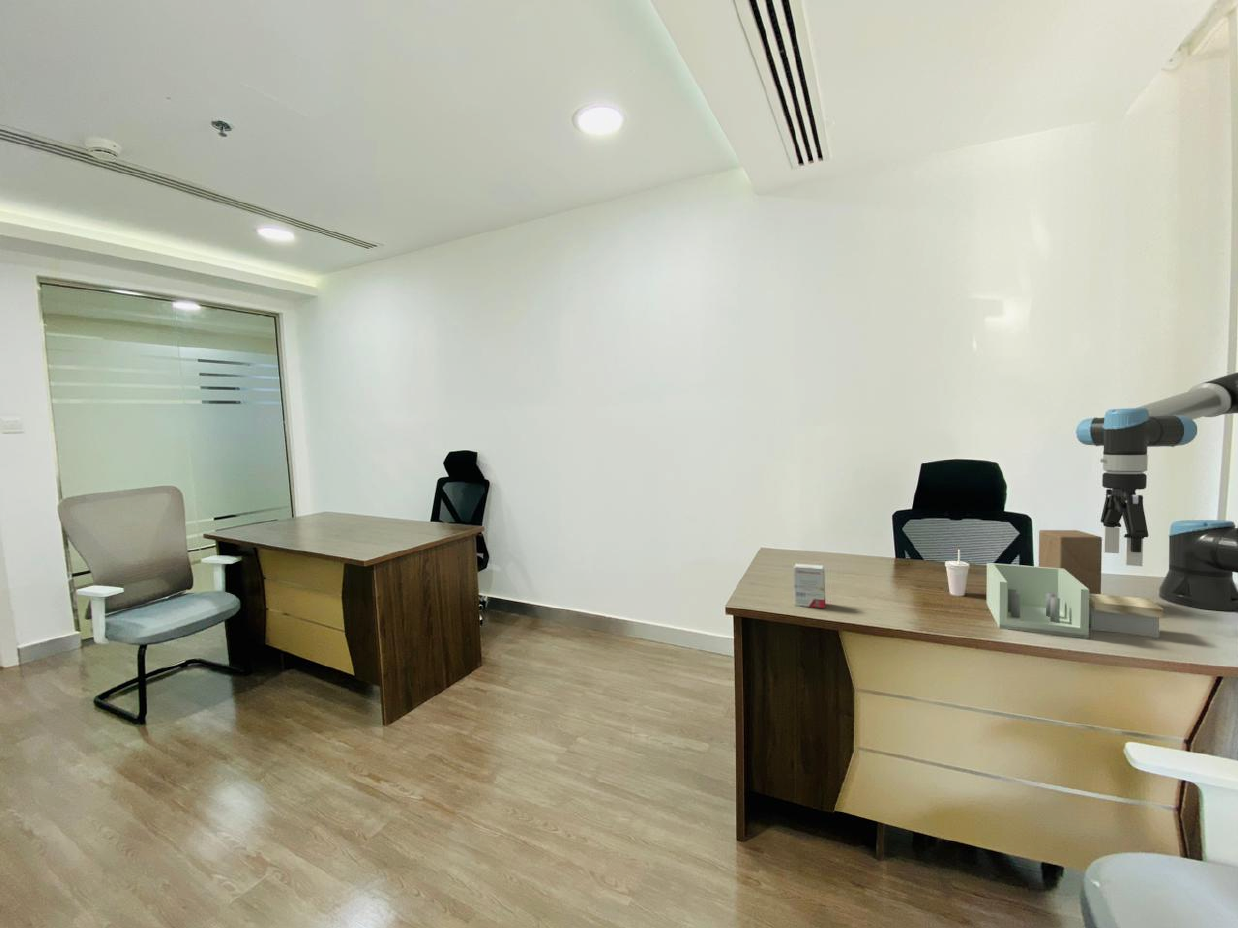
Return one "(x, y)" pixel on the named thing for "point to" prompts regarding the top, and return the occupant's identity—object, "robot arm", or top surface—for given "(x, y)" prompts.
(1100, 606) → the shelf board
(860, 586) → the top surface
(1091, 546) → the wooden block
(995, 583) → the light green open box
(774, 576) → the top surface
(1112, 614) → the block
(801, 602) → the ink box
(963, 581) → the smoothie
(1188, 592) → the robot arm
